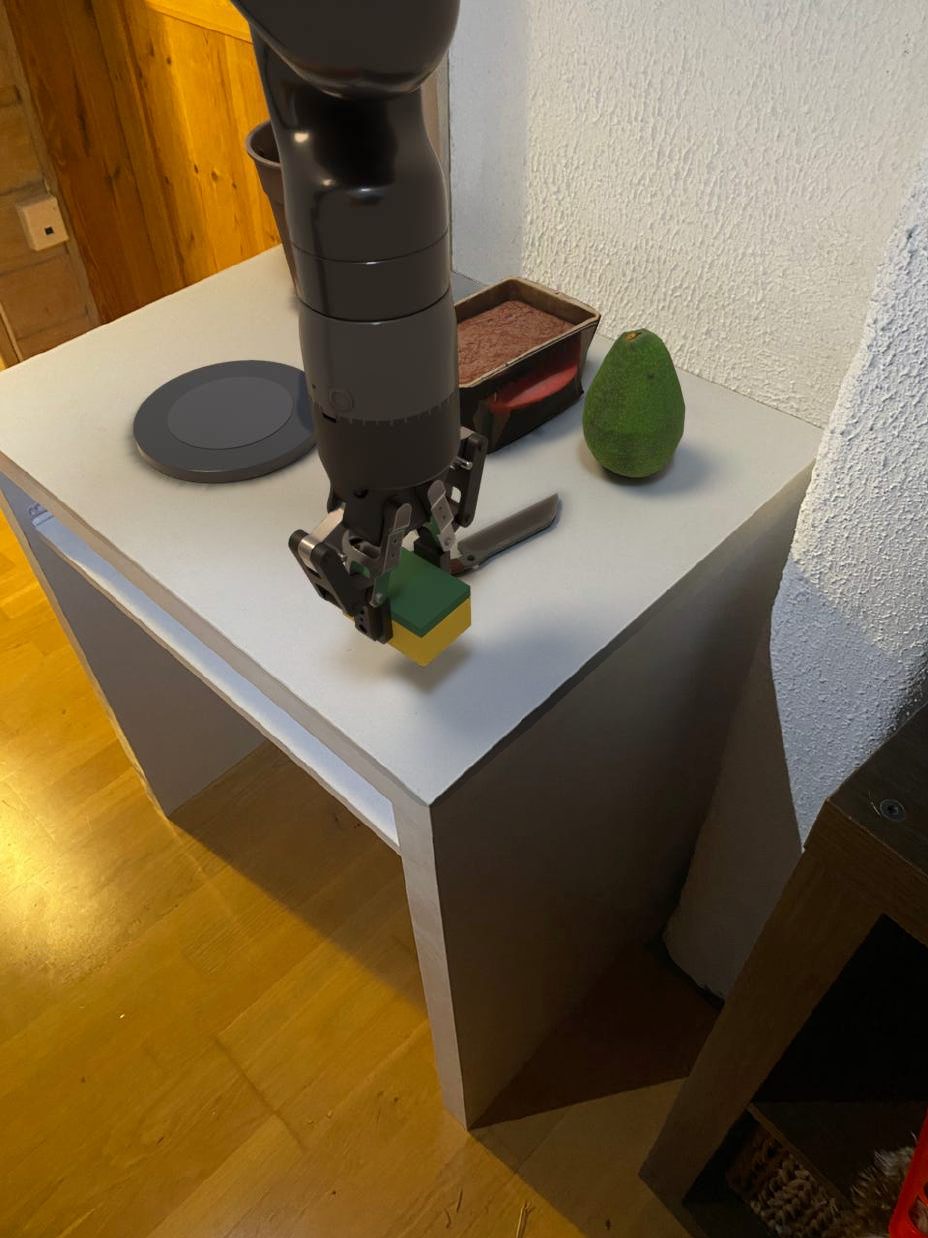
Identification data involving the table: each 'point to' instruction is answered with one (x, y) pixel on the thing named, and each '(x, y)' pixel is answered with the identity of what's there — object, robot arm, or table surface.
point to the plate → (226, 421)
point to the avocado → (634, 406)
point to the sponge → (425, 607)
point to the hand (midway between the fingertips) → (405, 610)
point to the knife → (504, 533)
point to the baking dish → (519, 357)
